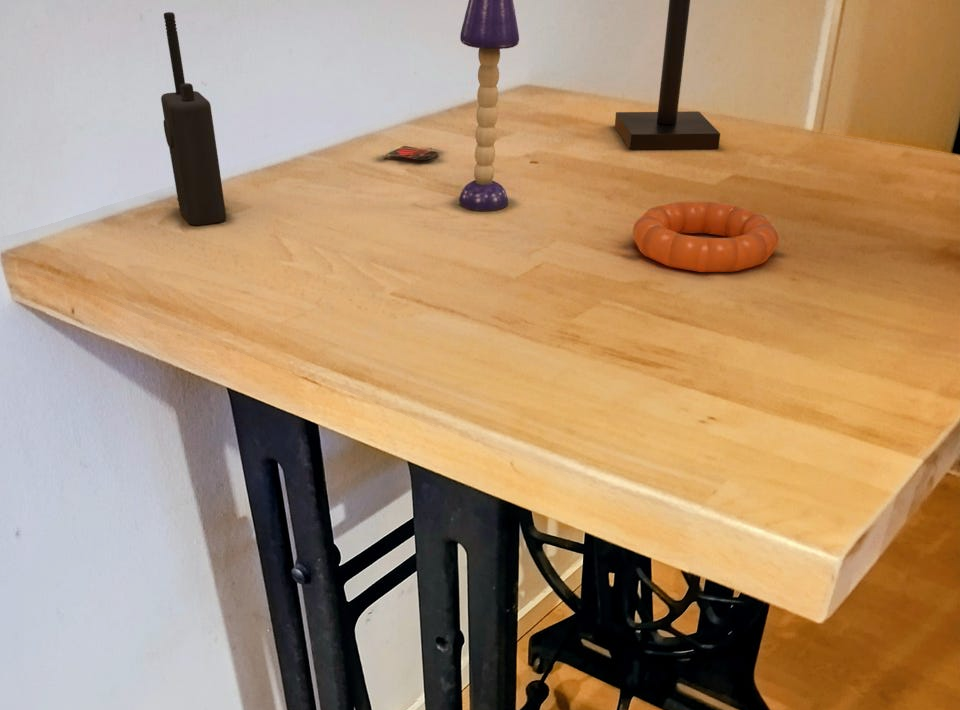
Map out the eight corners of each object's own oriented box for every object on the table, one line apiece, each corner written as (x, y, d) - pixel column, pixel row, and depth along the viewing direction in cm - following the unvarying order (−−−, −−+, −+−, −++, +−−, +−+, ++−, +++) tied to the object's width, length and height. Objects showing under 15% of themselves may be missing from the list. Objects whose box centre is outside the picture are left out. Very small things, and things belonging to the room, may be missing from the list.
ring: (751, 226, 84) (756, 196, 82) (792, 275, 75) (798, 243, 74) (621, 228, 83) (624, 198, 82) (647, 278, 75) (650, 245, 73)
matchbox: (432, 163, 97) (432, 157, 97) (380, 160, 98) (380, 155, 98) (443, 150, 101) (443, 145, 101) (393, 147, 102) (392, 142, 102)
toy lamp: (516, 197, 90) (522, -19, 80) (512, 214, 86) (518, -10, 76) (462, 195, 90) (461, -20, 80) (456, 212, 86) (454, -12, 76)
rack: (697, 126, 110) (715, -17, 102) (718, 149, 103) (739, -3, 95) (614, 126, 109) (626, -17, 101) (629, 150, 102) (643, -3, 94)
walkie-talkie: (228, 221, 84) (200, 18, 75) (187, 227, 83) (153, 21, 74) (214, 204, 87) (185, 8, 78) (174, 210, 86) (140, 11, 77)
